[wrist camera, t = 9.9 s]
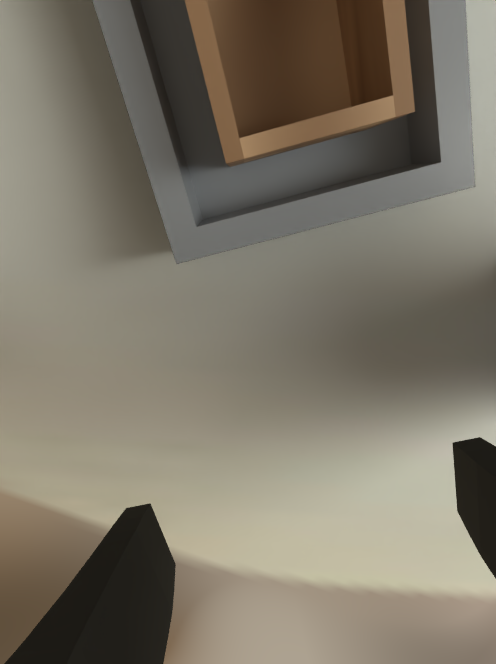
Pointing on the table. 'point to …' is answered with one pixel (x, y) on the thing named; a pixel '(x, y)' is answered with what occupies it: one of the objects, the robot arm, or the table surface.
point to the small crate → (300, 70)
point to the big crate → (295, 165)
